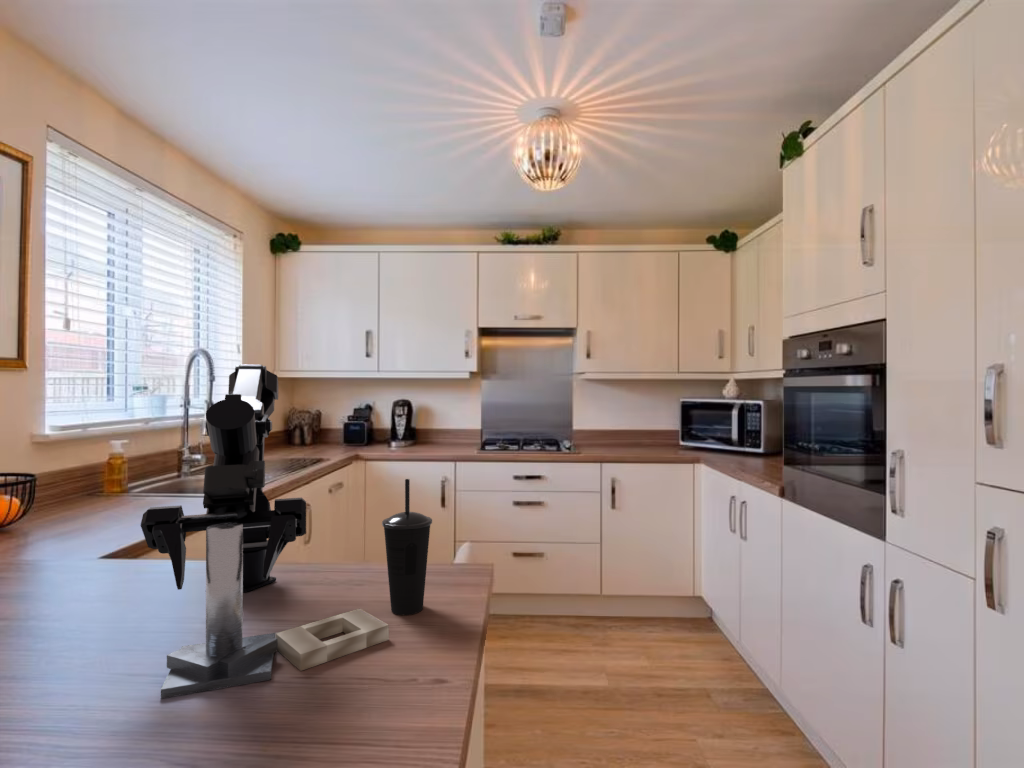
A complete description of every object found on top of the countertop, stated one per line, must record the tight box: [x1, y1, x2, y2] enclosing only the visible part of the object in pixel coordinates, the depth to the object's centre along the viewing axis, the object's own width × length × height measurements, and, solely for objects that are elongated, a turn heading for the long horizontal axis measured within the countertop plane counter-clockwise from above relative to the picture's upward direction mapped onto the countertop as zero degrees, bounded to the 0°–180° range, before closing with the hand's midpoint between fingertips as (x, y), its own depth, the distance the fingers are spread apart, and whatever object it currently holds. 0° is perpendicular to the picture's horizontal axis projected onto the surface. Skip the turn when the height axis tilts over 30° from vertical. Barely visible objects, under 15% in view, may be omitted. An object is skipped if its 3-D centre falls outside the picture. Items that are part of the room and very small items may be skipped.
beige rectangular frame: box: [275, 608, 390, 672], centre depth 73 cm, size 12×8×2 cm, turn 134°
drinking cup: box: [381, 478, 433, 616], centre depth 85 cm, size 8×8×20 cm
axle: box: [205, 523, 244, 658], centre depth 67 cm, size 4×4×16 cm
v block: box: [160, 632, 279, 699], centre depth 67 cm, size 11×12×2 cm
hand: (223, 583), depth 66 cm, fingers open, 9 cm apart
